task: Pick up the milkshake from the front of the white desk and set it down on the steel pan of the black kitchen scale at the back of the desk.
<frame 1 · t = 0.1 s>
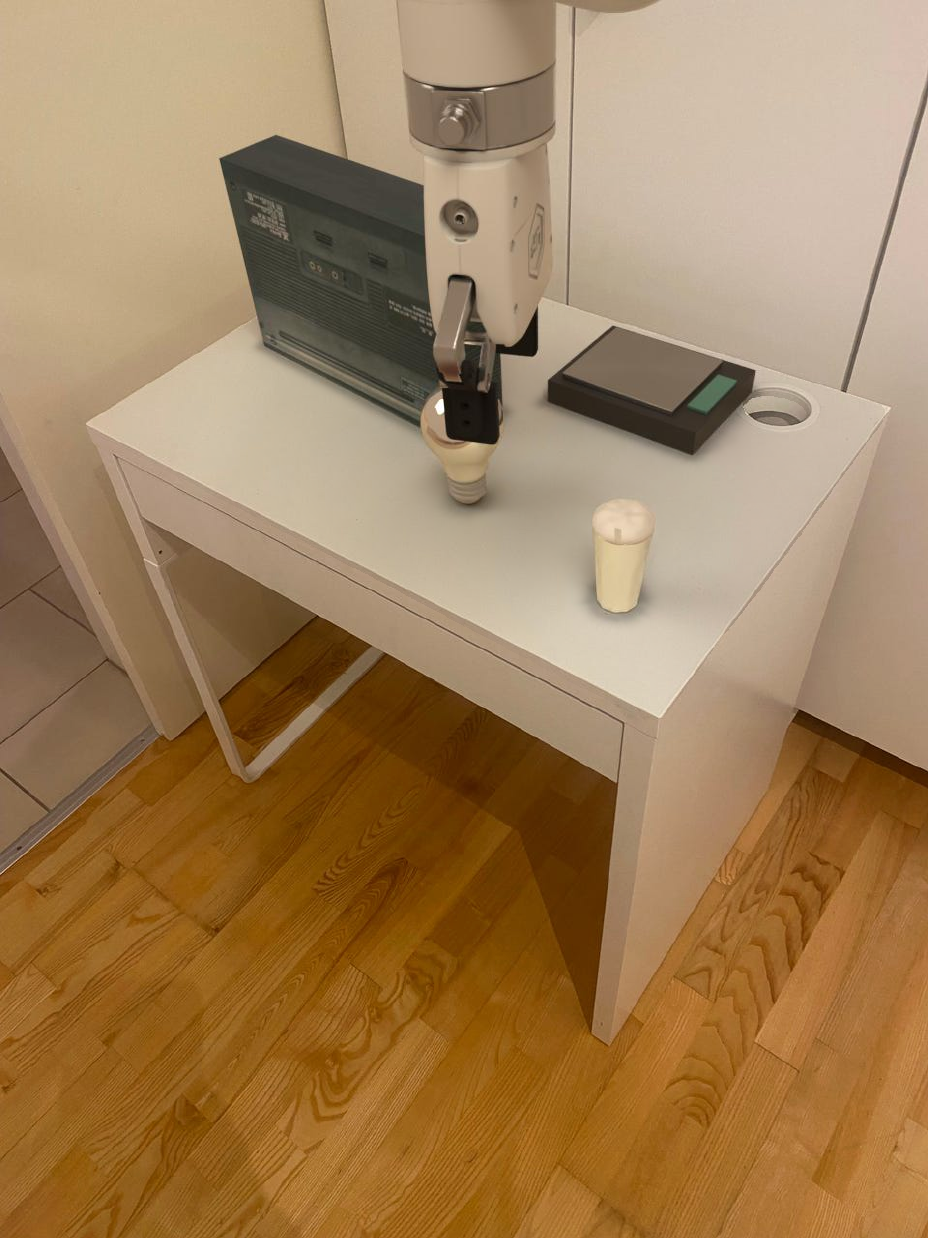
hand: (494, 393, 60), 20 cm above the table, tool pointing down, fingers open, 9 cm apart
light bulb: (468, 502, 85), on the table
scale: (649, 396, 94), on the table
cassette player: (376, 378, 100), on the table
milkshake: (616, 604, 75), on the table
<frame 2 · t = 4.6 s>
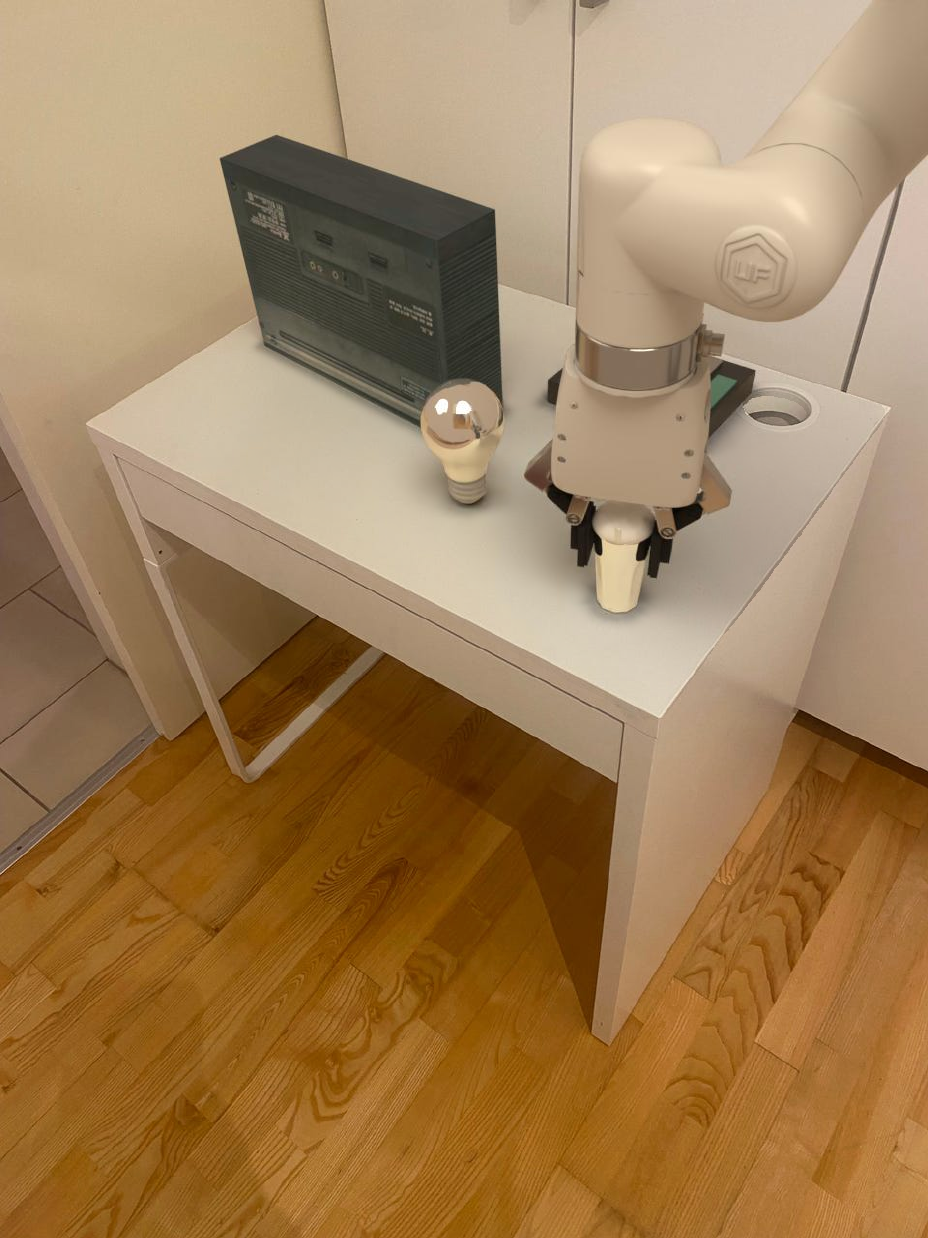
hand: (620, 558, 72), 5 cm above the table, tool pointing down, fingers closed on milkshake, 4 cm apart
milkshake: (616, 604, 75), on the table, touching gripper
everything else where it was.
when the fingers open (8 cm above the table, at t = 11.6 s): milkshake stays where it is, resting on scale.
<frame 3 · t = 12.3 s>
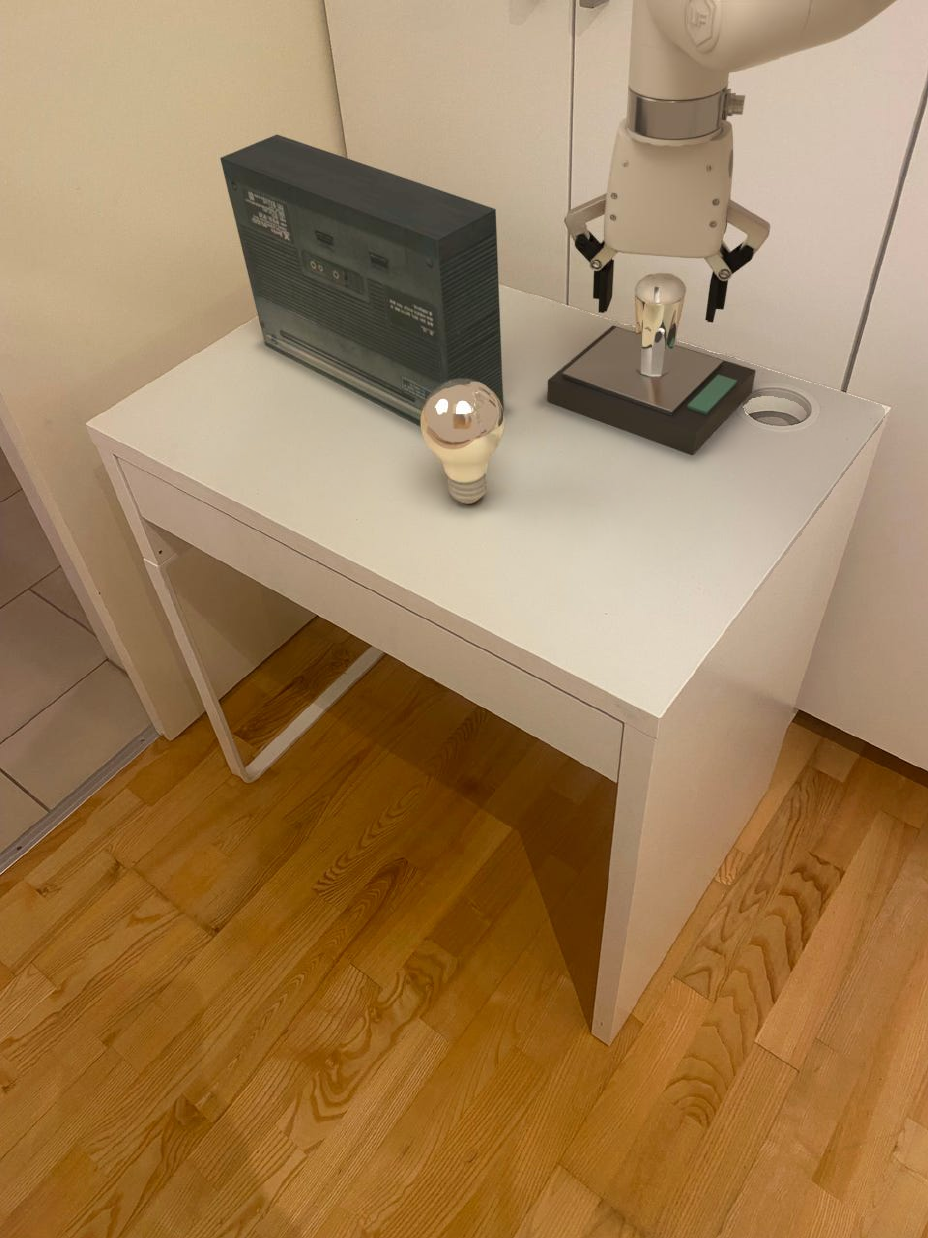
hand: (657, 309, 87), 9 cm above the table, tool pointing down, fingers open, 9 cm apart
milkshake: (652, 371, 92), point 3 cm above the table, touching scale
everything else where it was.
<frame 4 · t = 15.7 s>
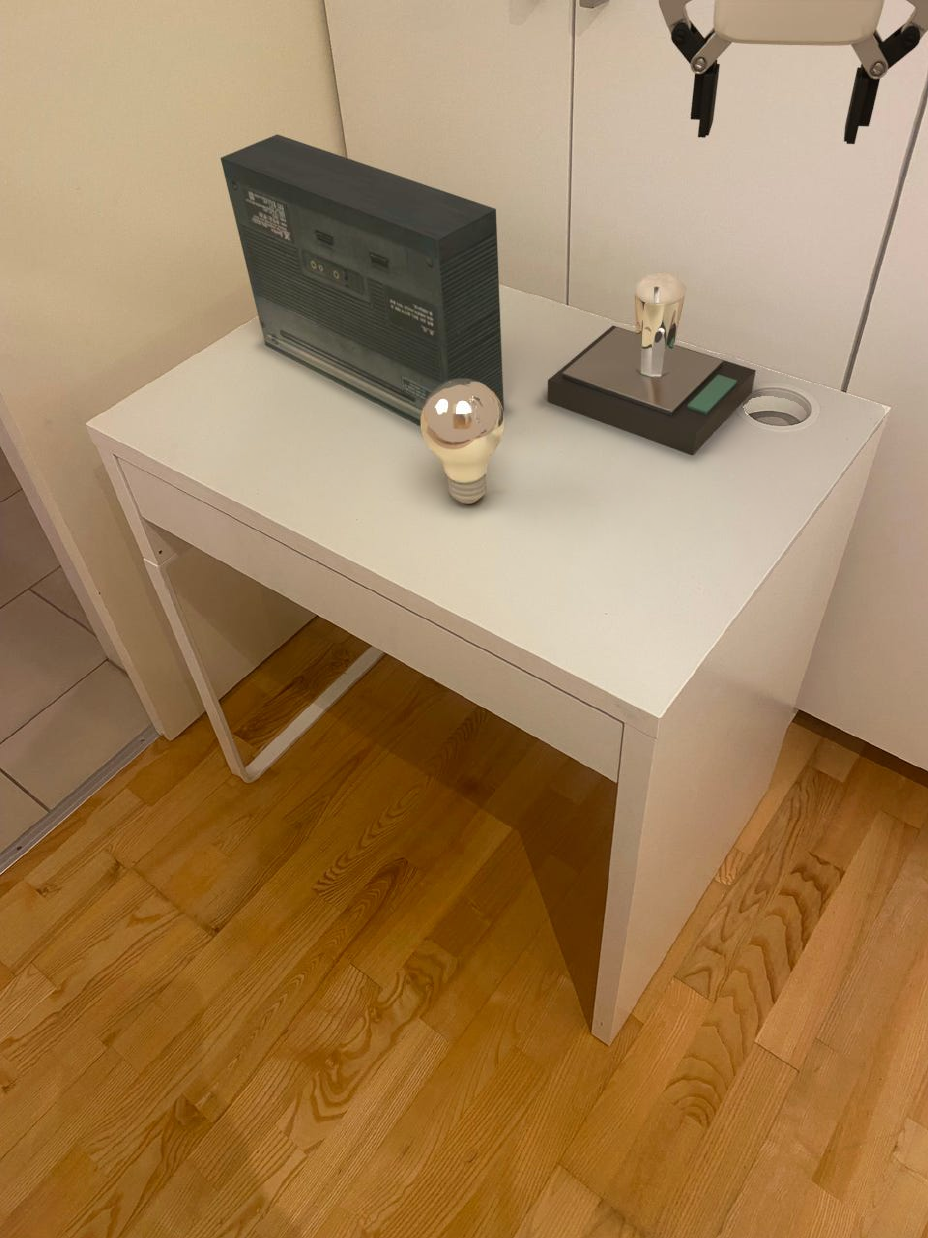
hand: (776, 133, 66), 28 cm above the table, tool pointing down, fingers open, 9 cm apart
nothing on the table moved.
at the end: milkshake inside the target area on the scale (0.6 cm from its centre), point 2.9 cm above the scale's base; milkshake tilted 0°; the gripper is holding nothing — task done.
